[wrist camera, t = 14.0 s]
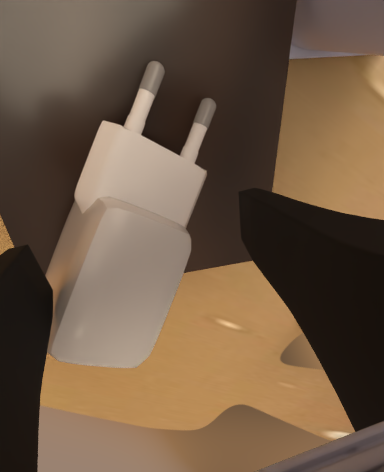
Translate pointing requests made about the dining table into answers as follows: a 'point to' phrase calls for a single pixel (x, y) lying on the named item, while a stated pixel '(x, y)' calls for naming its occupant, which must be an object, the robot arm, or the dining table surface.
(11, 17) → the stool
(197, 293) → the dining table surface
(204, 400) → the dining table surface
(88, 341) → the power adapter
